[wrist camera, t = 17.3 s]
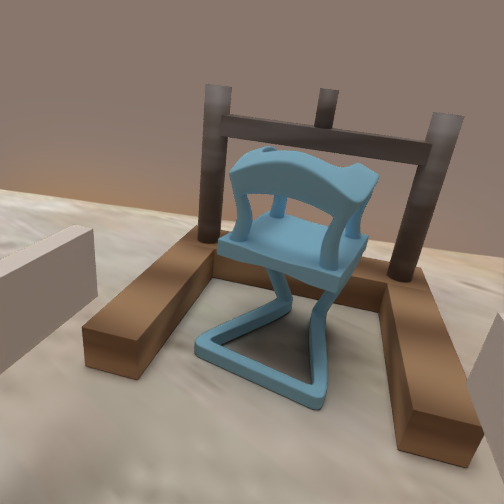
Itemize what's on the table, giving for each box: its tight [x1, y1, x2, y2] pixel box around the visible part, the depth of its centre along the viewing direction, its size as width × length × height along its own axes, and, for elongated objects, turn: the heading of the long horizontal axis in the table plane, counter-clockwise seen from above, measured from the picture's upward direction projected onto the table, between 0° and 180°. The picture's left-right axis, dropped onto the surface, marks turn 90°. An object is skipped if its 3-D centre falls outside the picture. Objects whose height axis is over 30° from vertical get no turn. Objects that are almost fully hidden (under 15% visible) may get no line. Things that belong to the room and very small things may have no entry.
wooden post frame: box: [82, 84, 484, 468], centre depth 23 cm, size 16×19×15 cm
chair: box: [195, 146, 379, 410], centre depth 21 cm, size 8×8×12 cm
